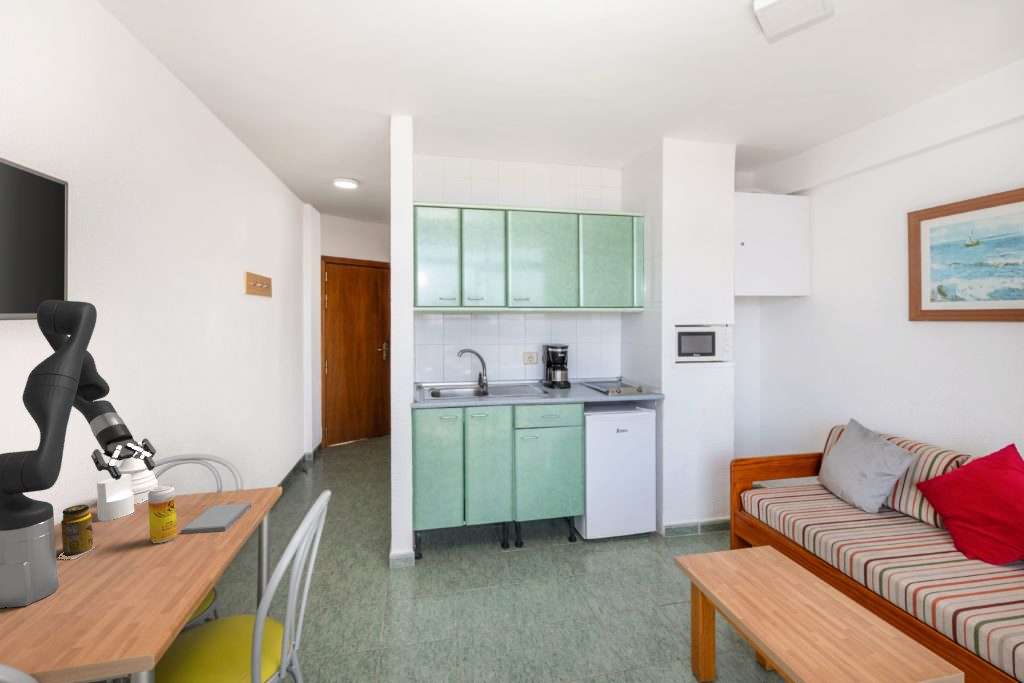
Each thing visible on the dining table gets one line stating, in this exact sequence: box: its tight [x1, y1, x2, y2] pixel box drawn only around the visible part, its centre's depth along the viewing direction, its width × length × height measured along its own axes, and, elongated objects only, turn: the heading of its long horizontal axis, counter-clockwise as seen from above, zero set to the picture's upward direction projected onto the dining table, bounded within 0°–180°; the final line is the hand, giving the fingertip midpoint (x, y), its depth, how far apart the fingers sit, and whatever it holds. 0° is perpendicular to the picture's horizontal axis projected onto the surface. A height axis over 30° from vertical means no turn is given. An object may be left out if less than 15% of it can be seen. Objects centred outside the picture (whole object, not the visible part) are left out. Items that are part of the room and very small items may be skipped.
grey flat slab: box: [180, 502, 252, 535], centre depth 146 cm, size 18×12×1 cm, turn 7°
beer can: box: [147, 484, 178, 544], centre depth 132 cm, size 6×6×15 cm
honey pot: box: [117, 451, 159, 505], centre depth 163 cm, size 13×13×18 cm
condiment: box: [56, 504, 96, 561], centre depth 126 cm, size 7×8×12 cm
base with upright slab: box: [96, 474, 135, 522], centre depth 150 cm, size 9×9×12 cm
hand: (136, 473), depth 136 cm, fingers open, 8 cm apart
